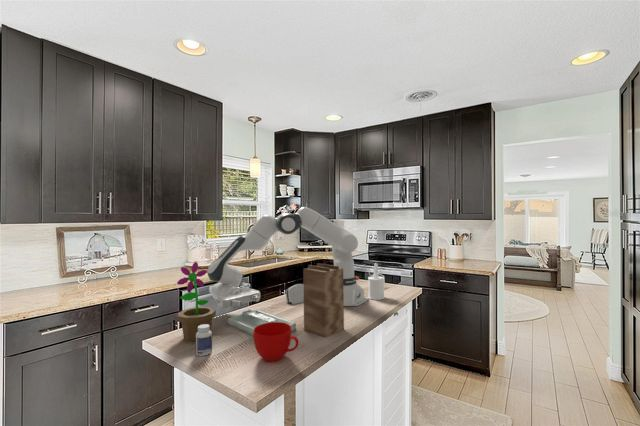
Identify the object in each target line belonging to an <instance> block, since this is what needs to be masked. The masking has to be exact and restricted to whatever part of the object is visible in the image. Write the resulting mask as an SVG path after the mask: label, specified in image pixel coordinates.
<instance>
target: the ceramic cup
mask: <svg viewBox="0 0 640 426" xmlns="http://www.w3.org/2000/svg"><path fill="white" fill-rule="evenodd" d="M253 334H254V336H253V341H254V346H255V350H256V351H257V353H258V355H259V357H261V358H262V360H263V361H264V362H269V363H273V362H278V361H280V360H282V359H283V357H284V356H285V355H286V353H289V352H293V351H295V350H296V349H297V348H298V346H299V342H300V341H299V339H298V338H297V336H295V335H292V331H291V326H290V325H288V324H286V323H281V322H270V323H265V324H261V325H259V326H257V327H255V329H254V332H253ZM291 340H294V342H295V344H294V346H293V347H292V348H290V345H291Z"/></svg>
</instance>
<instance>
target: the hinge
mask: <svg viewBox="0 0 640 426" xmlns="http://www.w3.org/2000/svg"><path fill="white" fill-rule="evenodd" d="M285 298H286V299H285V300H286V303H287V304H288V303H291V305H297V304H299V303H304V285H303V283H297V284H294V285H292V286H289V287H288V288H287V289H285Z"/></svg>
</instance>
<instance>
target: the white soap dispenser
mask: <svg viewBox="0 0 640 426" xmlns="http://www.w3.org/2000/svg"><path fill="white" fill-rule="evenodd" d="M373 266H374V268H373V267H372V268H370V269H369V271H368V275H370V276H368V277H367V281H368V296H367V297H368V298H369V299H370V300H372V299H373V300H374V301H380V300H381V299H382V300H384V299H385V289H386V285H385V281H386V280H385V278H386V277H385V275H383V274H382V273H379V264H378V263H377V262H375V263H374V265H373ZM371 270H374V271H373V274H370V272H371ZM382 300H381V301H382Z"/></svg>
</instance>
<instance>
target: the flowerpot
mask: <svg viewBox="0 0 640 426" xmlns="http://www.w3.org/2000/svg"><path fill="white" fill-rule="evenodd" d="M198 269H199V264H198V261H195V262H193V264H192V266H191V269H188V268H187V267H184V266H181V268H180V271H181V273H182V274H183V275H185V276H187V277H182V278H180V279H179V280H177V282H176V283H177V285H185V284H187V286H186V290H187V292H186V293H185V294H182V295H181V296H180V297H179V299H181V300H183V301H192V300H194V299H195V307H189V308H186V309H182V310H181V311H179V312H178V313H177V320H178V322H179V323H181V329H182V335H183V340H185V341H184V342H187V341H188V342H187V343H196V333H197V332H198V326H200V325H203V324H208V325H209V326H210V331H211V332H212V329H213V328H212V327H213V319H214V317H216V313H217V312H216V309H215V307H212V306H204V305H206V304H208V303H209V300H208V299H199V291H198V287H204V285H205V284H204V281H203V280H201V279H200V278H199V277H204V276H205V275H206V274H208V273H207V270H208V269H201V270H199V271H198ZM190 270H191V272H190ZM187 282H188V283H187ZM193 288H194V292H192V291H193Z"/></svg>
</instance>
